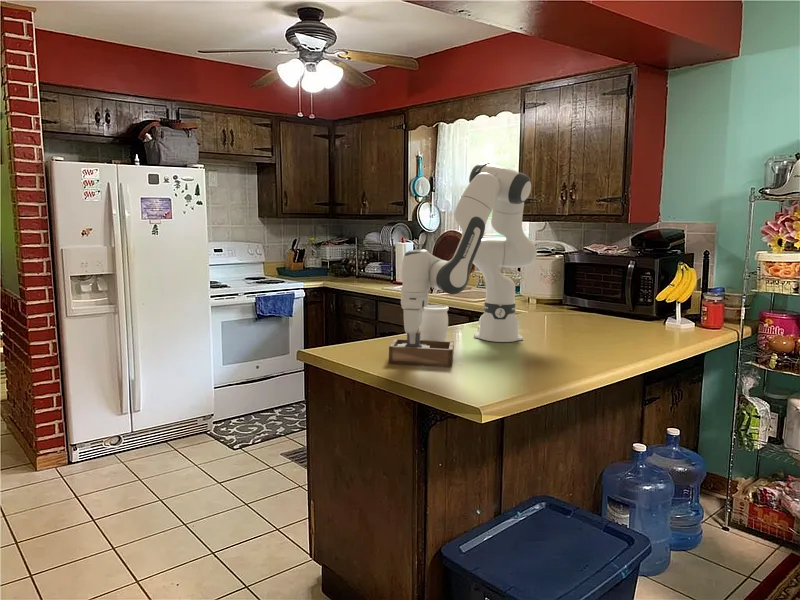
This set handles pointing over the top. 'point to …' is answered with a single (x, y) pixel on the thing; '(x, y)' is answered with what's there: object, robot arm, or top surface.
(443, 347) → the box
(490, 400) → the top surface
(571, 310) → the top surface
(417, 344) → the block
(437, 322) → the jar
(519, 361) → the top surface
